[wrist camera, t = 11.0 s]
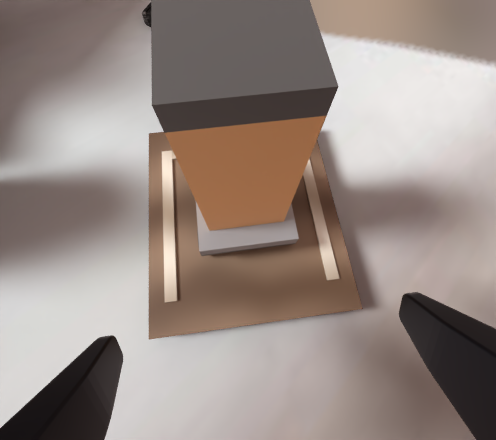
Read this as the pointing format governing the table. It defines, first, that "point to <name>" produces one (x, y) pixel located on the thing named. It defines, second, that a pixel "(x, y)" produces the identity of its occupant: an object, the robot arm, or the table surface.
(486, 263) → the table surface
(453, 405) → the robot arm
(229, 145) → the grey-topped tan box
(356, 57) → the table surface
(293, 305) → the dock
